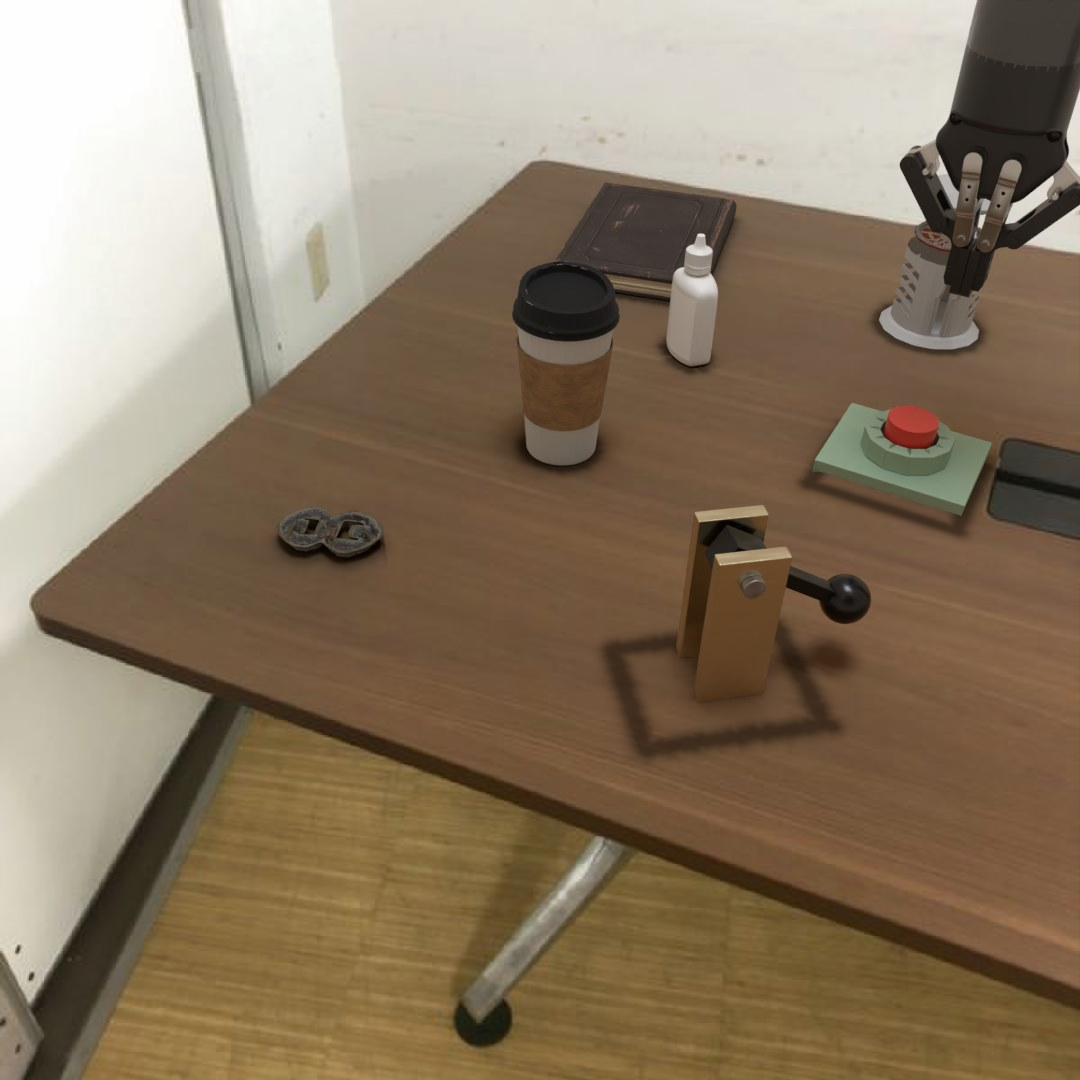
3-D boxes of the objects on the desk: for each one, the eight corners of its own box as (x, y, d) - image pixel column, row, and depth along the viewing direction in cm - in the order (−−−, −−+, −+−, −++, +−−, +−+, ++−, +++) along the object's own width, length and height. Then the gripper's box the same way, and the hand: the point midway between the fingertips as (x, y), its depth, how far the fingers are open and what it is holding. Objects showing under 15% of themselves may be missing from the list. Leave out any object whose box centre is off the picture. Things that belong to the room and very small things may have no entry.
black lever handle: (837, 606, 74) (868, 572, 72) (856, 639, 72) (889, 605, 70) (697, 552, 68) (728, 513, 67) (712, 586, 66) (745, 547, 65)
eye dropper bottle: (662, 365, 106) (674, 246, 98) (666, 336, 110) (678, 220, 102) (709, 370, 105) (724, 250, 98) (711, 340, 109) (726, 224, 102)
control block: (985, 464, 94) (998, 424, 92) (957, 528, 87) (970, 487, 85) (846, 423, 99) (855, 384, 96) (810, 481, 92) (818, 441, 89)
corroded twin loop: (289, 513, 87) (287, 502, 86) (390, 523, 86) (389, 512, 86) (269, 554, 83) (267, 543, 82) (374, 565, 82) (373, 554, 82)
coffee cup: (598, 414, 99) (608, 256, 89) (620, 470, 92) (633, 306, 83) (504, 422, 98) (504, 262, 88) (520, 479, 91) (521, 313, 82)
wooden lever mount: (778, 626, 78) (810, 479, 70) (827, 722, 72) (868, 572, 64) (612, 646, 77) (625, 498, 68) (646, 747, 70) (664, 595, 62)
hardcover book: (551, 283, 118) (552, 262, 117) (603, 200, 135) (604, 182, 134) (700, 306, 115) (703, 285, 114) (735, 218, 132) (737, 199, 131)
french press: (973, 307, 116) (1047, 55, 100) (987, 363, 107) (1072, 96, 91) (876, 297, 117) (934, 47, 101) (882, 353, 108) (948, 87, 92)
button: (939, 432, 91) (944, 413, 90) (927, 456, 89) (932, 437, 88) (891, 418, 93) (895, 400, 92) (877, 441, 90) (882, 423, 89)
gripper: (909, 42, 71) (858, 291, 82) (1131, 76, 66) (1045, 335, 77) (939, 15, 76) (887, 252, 87) (1147, 44, 71) (1064, 292, 82)
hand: (962, 291), depth 82 cm, fingers closed
